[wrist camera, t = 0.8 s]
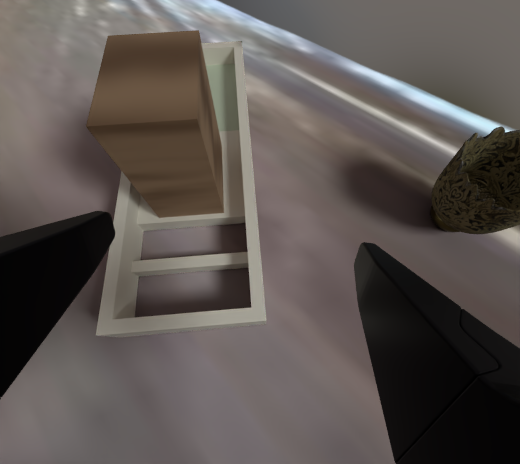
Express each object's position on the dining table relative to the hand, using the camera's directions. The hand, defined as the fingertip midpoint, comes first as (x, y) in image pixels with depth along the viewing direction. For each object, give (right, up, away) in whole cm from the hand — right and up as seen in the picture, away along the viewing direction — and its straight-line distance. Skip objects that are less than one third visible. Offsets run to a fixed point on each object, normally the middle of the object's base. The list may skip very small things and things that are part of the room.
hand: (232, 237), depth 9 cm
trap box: (-6, +7, +19) cm, 21 cm away
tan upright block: (-6, +5, +17) cm, 18 cm away
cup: (+19, +2, +17) cm, 25 cm away
